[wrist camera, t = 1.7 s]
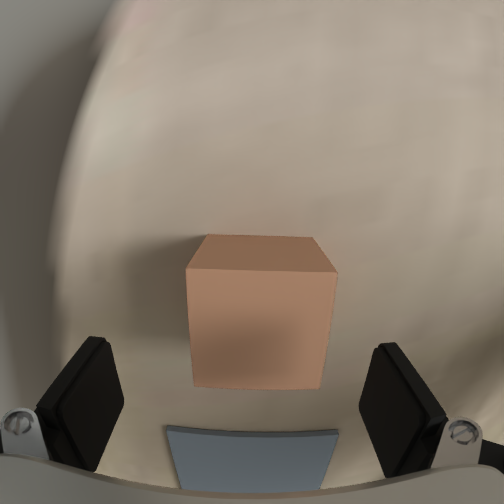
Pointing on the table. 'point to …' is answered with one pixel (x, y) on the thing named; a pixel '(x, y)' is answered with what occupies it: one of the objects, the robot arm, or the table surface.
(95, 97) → the table surface
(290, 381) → the terracotta cube
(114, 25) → the table surface
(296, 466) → the slate mat
